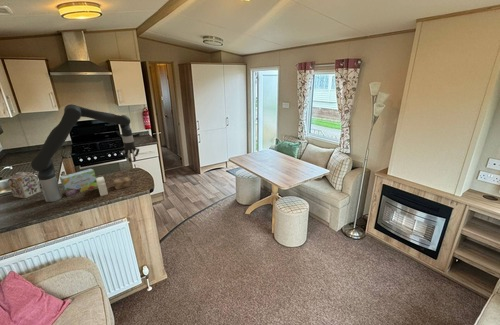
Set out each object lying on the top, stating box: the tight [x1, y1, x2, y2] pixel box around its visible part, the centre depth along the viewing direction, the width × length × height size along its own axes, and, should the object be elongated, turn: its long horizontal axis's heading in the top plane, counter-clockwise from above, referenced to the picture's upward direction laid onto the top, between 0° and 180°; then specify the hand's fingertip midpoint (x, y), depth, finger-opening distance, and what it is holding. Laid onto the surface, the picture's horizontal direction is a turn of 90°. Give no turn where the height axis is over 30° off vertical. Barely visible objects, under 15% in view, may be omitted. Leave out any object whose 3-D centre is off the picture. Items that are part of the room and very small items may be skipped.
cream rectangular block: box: [96, 176, 109, 197], centre depth 182 cm, size 5×16×9 cm, turn 35°
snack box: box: [59, 168, 98, 197], centre depth 182 cm, size 21×6×15 cm, turn 143°
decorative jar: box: [7, 171, 42, 199], centre depth 176 cm, size 12×12×18 cm
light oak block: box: [112, 176, 133, 190], centre depth 192 cm, size 12×8×6 cm, turn 125°
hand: (132, 161), depth 191 cm, fingers closed
